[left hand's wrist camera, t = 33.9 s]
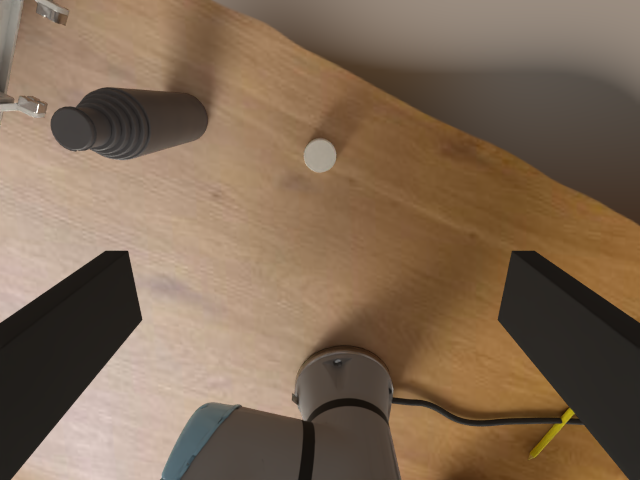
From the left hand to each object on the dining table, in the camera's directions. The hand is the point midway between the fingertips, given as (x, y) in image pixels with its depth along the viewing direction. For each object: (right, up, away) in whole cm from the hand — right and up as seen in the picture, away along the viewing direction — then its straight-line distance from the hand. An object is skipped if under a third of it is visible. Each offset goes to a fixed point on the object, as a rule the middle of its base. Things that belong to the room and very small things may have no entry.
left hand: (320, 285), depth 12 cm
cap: (0, +12, +30) cm, 33 cm away
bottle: (-16, +16, +30) cm, 38 cm away
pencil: (+40, -30, +48) cm, 69 cm away
